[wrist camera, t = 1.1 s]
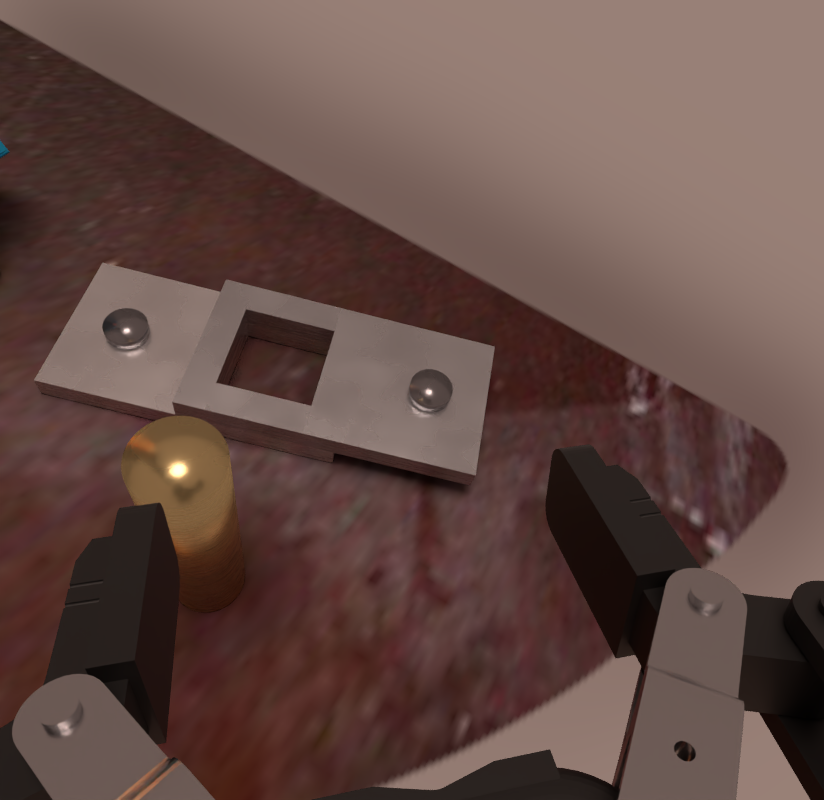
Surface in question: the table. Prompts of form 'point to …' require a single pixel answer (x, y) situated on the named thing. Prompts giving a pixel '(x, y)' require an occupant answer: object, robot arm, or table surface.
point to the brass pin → (191, 504)
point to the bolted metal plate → (261, 414)
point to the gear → (3, 150)
